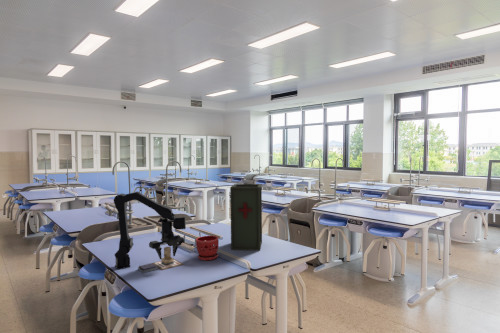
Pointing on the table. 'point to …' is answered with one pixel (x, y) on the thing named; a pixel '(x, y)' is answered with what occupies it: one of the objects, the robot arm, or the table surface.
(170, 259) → the stamp
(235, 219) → the first aid box
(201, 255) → the plant pot
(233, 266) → the table surface
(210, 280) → the table surface
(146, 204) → the robot arm
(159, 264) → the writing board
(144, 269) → the dark grey flat block
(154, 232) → the table surface
